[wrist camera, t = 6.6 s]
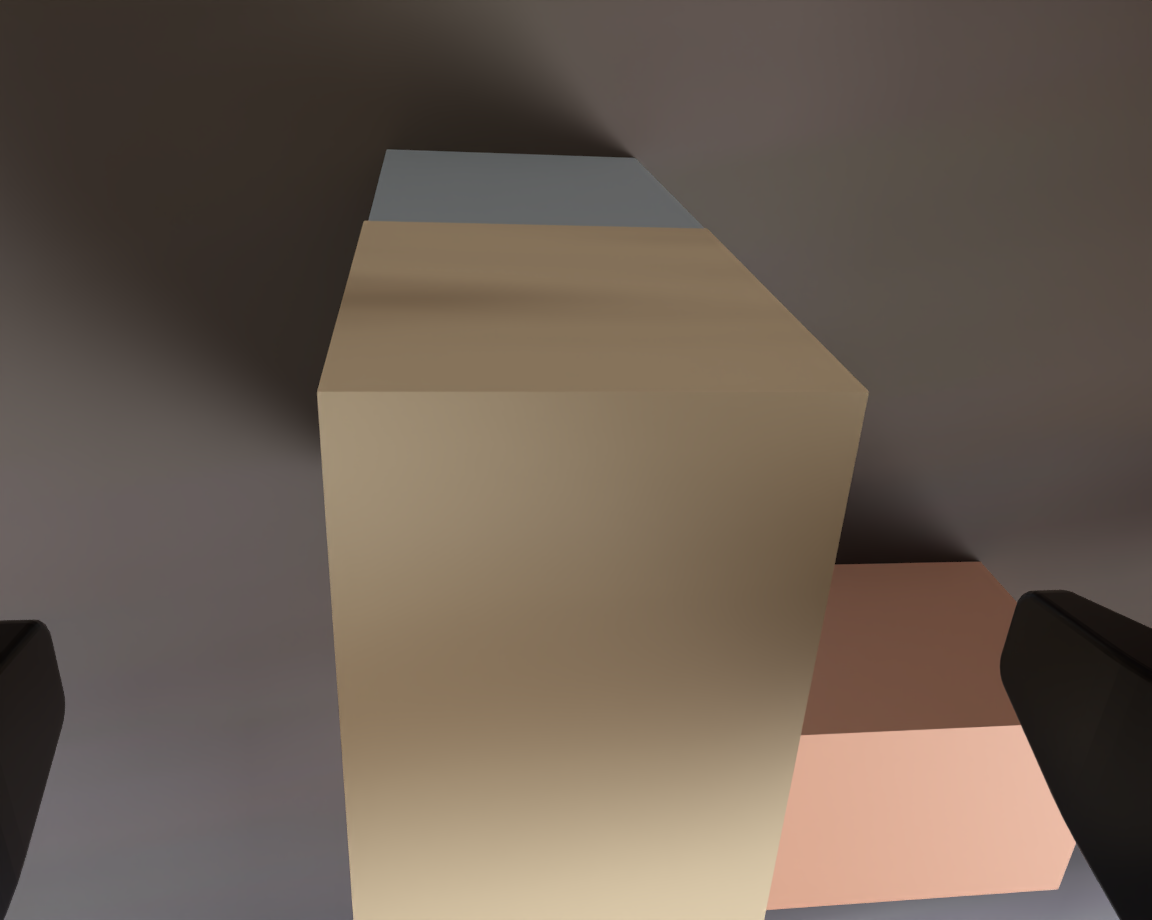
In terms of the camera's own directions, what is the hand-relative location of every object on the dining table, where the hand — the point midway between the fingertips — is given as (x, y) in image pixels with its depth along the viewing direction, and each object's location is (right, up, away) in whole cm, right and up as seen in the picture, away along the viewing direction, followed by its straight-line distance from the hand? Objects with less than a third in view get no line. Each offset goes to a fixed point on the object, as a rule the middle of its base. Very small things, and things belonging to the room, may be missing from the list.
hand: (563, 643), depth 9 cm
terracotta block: (+6, -2, +12) cm, 14 cm away
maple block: (0, +2, +4) cm, 4 cm away
